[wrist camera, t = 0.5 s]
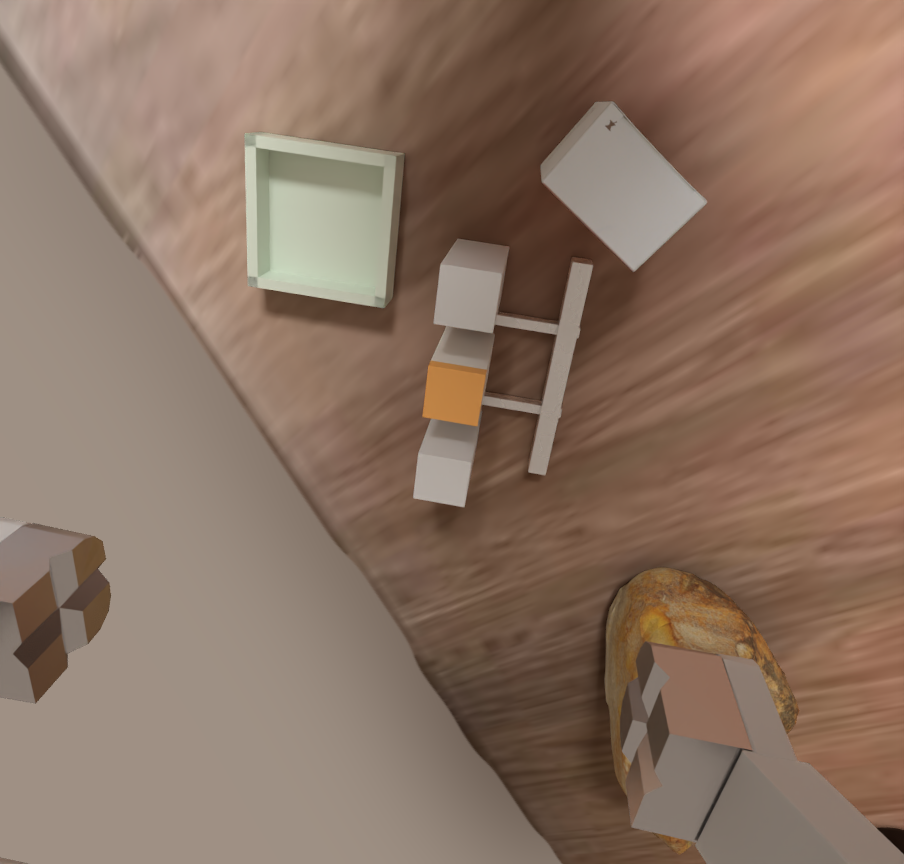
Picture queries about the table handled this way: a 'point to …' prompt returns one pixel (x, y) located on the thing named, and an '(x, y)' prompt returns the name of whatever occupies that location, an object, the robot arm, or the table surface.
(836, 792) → the robot arm
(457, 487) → the block
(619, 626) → the rough brown rock
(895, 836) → the ink bottle
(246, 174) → the tray
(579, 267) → the rail
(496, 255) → the block
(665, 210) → the small box
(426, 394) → the block
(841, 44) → the table surface
